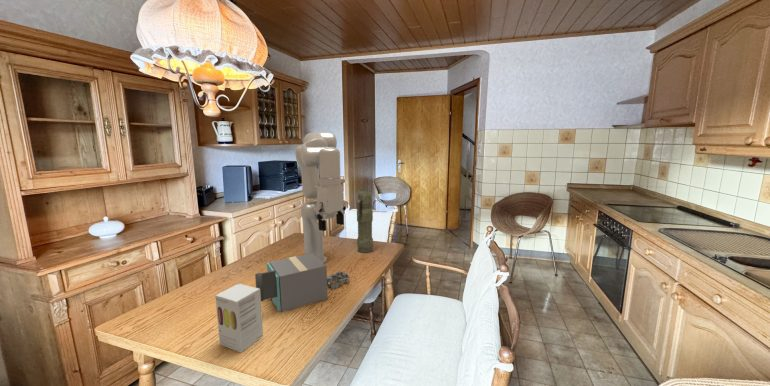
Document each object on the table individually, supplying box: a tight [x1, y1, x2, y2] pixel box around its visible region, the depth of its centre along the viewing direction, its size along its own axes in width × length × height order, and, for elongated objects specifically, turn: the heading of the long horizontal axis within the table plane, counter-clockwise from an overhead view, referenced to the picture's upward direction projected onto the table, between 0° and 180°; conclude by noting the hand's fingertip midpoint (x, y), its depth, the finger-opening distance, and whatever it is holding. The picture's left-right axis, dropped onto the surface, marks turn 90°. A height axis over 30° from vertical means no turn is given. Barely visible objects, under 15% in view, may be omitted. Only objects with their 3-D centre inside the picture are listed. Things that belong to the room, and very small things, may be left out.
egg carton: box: [327, 269, 351, 290], centre depth 140 cm, size 11×8×4 cm
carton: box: [269, 253, 328, 313], centre depth 127 cm, size 16×18×14 cm
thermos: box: [356, 188, 374, 254], centre depth 177 cm, size 9×12×35 cm
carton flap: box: [254, 261, 281, 312], centre depth 120 cm, size 16×8×16 cm, turn 32°
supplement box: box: [215, 282, 264, 353], centre depth 99 cm, size 10×9×17 cm
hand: (331, 227), depth 119 cm, fingers open, 9 cm apart
